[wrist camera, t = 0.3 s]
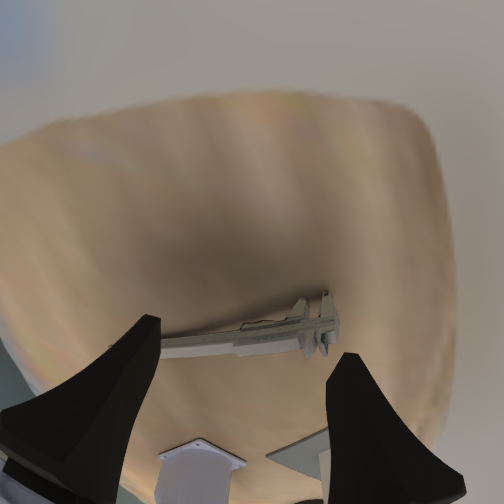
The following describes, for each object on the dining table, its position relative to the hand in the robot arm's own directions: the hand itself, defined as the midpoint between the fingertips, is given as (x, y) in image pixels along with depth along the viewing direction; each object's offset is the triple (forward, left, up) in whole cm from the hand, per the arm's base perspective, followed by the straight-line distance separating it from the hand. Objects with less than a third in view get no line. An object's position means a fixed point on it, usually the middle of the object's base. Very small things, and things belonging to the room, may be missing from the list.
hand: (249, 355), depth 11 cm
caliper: (-8, -2, -11) cm, 14 cm away
